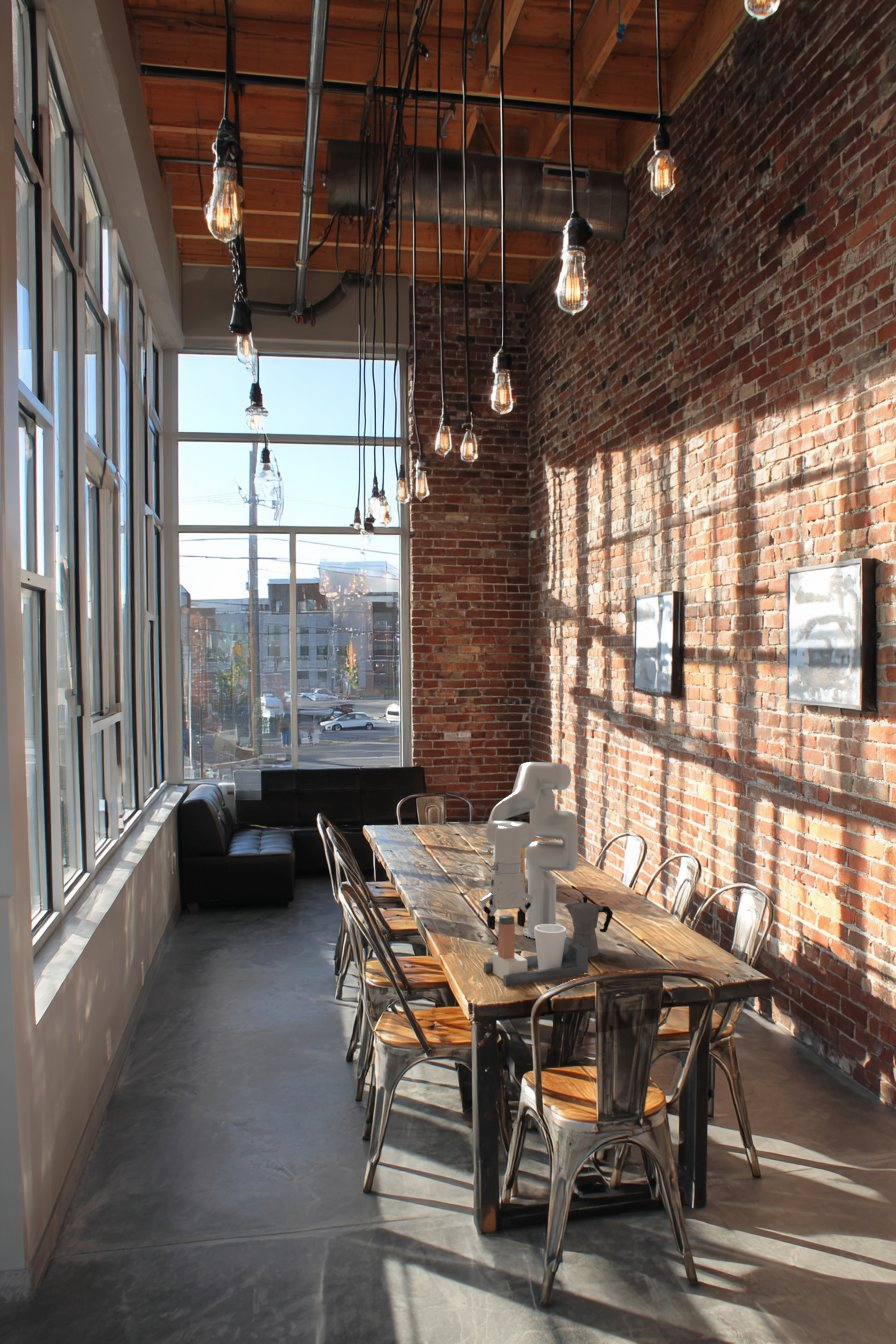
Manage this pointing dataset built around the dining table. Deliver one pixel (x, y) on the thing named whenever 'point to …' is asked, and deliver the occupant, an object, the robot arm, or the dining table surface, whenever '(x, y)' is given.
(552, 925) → the foam cup
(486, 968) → the grey frame
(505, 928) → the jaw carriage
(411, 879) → the dining table surface
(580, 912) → the coffeepot
